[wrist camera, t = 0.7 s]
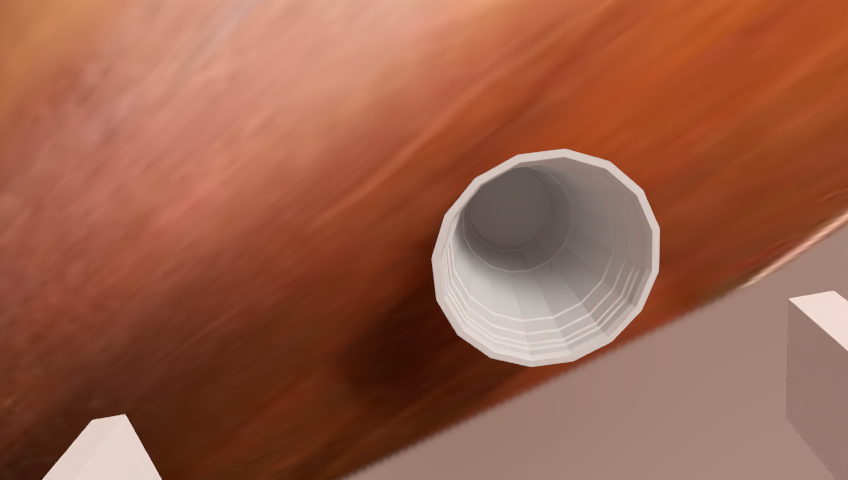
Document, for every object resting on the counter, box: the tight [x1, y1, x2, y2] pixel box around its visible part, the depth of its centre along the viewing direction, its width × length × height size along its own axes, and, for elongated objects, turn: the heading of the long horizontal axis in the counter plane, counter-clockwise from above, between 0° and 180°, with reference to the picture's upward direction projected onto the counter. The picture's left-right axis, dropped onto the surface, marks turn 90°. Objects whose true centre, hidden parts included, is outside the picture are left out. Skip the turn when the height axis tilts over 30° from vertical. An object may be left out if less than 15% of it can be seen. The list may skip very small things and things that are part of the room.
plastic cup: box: [431, 149, 660, 367], centre depth 31 cm, size 11×11×12 cm
